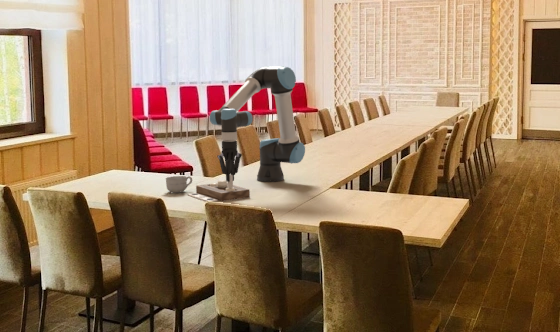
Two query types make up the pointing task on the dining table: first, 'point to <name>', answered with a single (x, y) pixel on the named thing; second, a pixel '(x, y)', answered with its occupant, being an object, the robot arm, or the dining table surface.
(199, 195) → the card
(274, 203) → the dining table surface
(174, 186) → the teacup
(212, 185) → the button
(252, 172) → the dining table surface
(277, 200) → the dining table surface
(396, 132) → the dining table surface
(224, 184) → the button
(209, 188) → the board
